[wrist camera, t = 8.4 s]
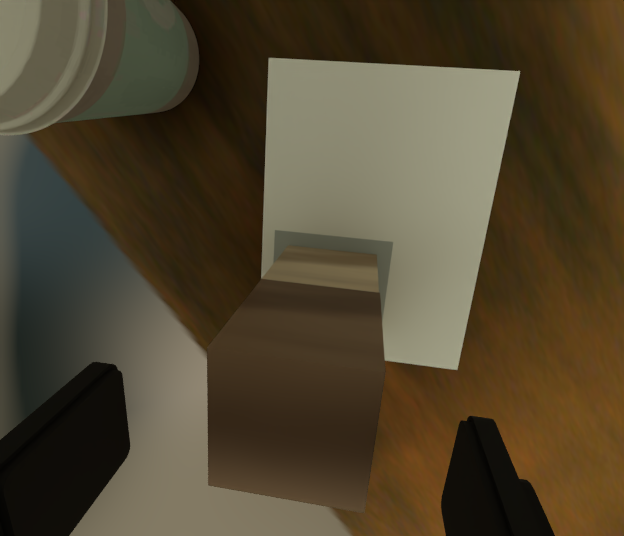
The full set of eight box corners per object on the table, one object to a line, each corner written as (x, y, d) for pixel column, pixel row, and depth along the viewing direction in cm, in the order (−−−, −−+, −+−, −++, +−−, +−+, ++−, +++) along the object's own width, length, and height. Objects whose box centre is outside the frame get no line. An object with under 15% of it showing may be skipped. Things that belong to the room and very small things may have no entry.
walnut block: (261, 278, 17) (207, 347, 11) (380, 292, 16) (385, 372, 11) (257, 380, 18) (208, 485, 13) (366, 396, 18) (364, 513, 12)
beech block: (288, 245, 23) (260, 280, 17) (376, 254, 22) (379, 293, 16) (283, 324, 24) (257, 381, 19) (366, 335, 24) (365, 396, 18)
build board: (274, 62, 21) (268, 57, 20) (511, 75, 20) (520, 71, 19) (263, 334, 26) (258, 343, 25) (453, 359, 25) (457, 370, 24)
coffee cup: (256, 53, 21) (124, -49, 10) (160, 169, 24) (-33, 194, 12) (135, -79, 20) (-172, -368, 9) (48, 57, 23) (-275, -28, 11)
